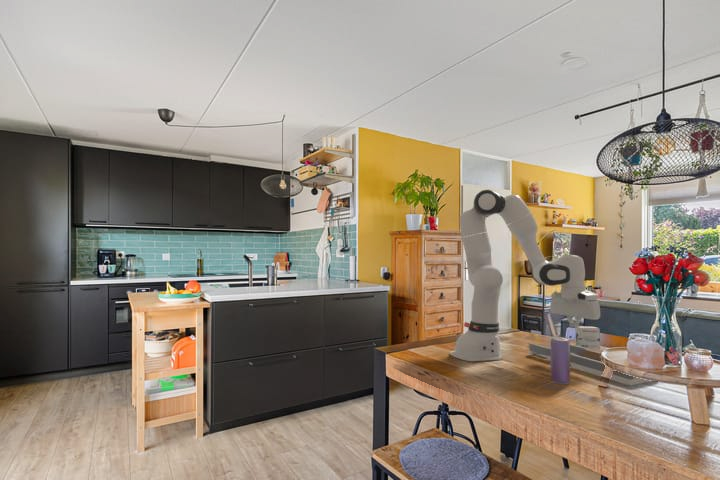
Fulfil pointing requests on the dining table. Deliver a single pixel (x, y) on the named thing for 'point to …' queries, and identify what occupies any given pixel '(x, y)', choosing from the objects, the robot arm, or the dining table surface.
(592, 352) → the walnut block
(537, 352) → the trap track
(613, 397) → the dining table surface
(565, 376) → the beverage can
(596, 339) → the ink box
